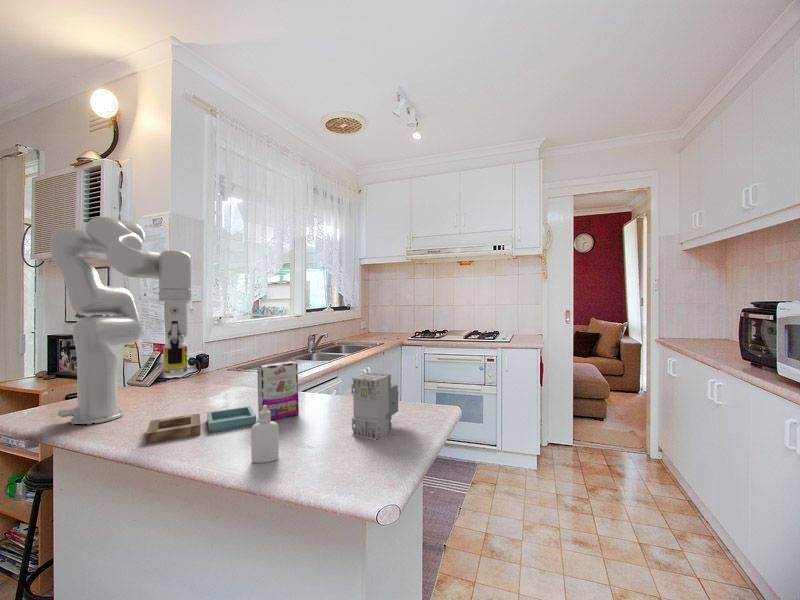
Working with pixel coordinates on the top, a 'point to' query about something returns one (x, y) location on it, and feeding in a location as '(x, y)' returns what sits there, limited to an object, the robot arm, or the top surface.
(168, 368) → the supplement bottle
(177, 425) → the brown rectangular holder box
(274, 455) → the eye dropper bottle
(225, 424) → the tray
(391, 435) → the top surface
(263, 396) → the candy bar box
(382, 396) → the circuit breaker
